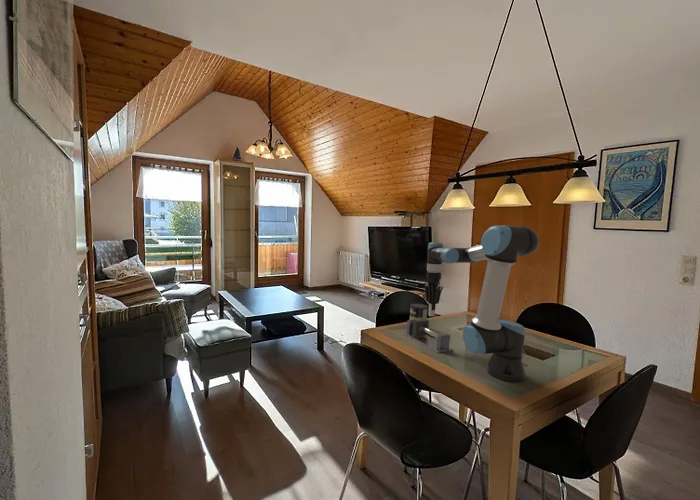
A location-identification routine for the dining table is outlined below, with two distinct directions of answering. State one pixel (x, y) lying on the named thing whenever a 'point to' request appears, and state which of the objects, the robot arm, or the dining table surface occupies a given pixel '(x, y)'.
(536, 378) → the dining table surface
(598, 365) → the dining table surface
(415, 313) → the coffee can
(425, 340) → the rail
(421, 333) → the collar
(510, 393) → the dining table surface
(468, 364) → the dining table surface
